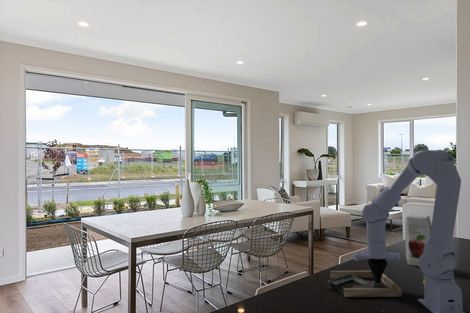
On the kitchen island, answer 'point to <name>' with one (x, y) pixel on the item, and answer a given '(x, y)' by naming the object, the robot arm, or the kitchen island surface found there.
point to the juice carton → (416, 237)
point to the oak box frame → (391, 291)
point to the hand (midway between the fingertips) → (377, 281)
